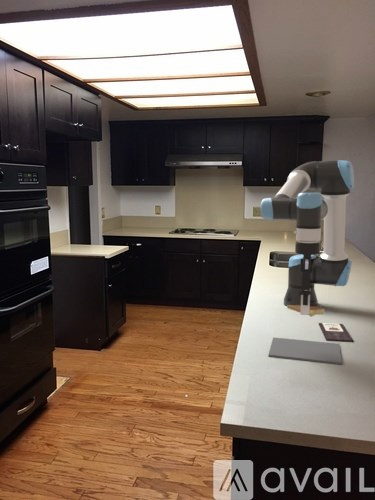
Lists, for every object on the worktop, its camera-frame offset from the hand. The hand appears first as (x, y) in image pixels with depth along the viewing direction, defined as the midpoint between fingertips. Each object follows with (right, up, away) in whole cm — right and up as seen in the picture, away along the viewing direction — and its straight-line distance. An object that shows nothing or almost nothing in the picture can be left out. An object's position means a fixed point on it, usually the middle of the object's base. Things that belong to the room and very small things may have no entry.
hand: (305, 310), depth 133 cm
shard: (0, -1, 0) cm, 1 cm away
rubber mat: (0, -13, +2) cm, 14 cm away
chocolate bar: (+16, -11, +19) cm, 27 cm away
